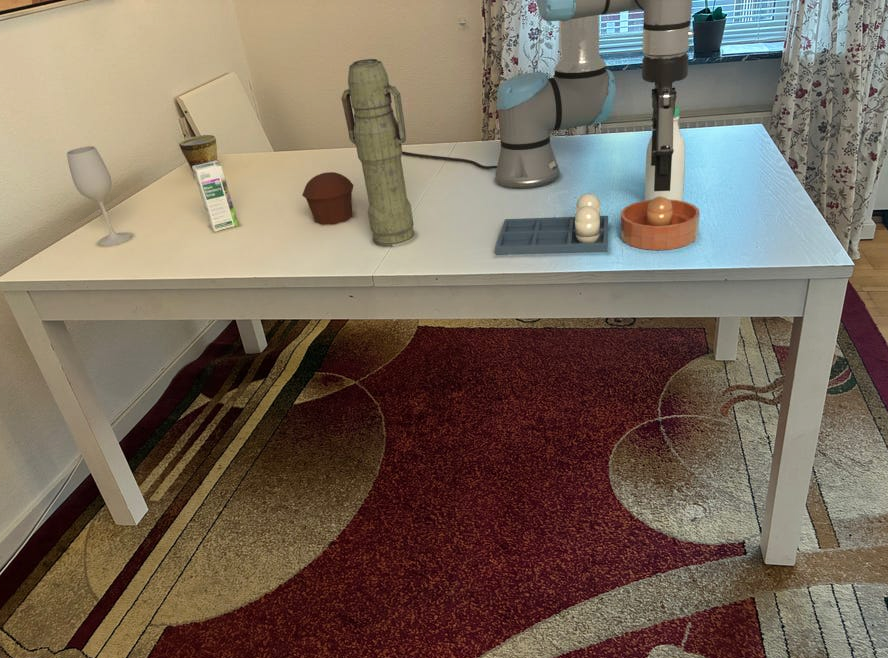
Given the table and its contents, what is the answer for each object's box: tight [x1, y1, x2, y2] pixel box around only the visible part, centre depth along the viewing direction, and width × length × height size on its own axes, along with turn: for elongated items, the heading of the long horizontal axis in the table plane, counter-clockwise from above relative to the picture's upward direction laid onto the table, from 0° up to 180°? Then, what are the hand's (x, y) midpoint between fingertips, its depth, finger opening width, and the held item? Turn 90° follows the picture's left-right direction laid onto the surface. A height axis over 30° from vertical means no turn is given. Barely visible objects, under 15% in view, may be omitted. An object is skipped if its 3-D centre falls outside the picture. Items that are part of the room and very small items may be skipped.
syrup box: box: [192, 159, 239, 232], centre depth 168 cm, size 6×6×14 cm
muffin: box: [301, 171, 354, 226], centre depth 166 cm, size 12×11×10 cm
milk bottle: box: [644, 105, 686, 201], centre depth 149 cm, size 8×8×20 cm
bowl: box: [620, 199, 701, 251], centre depth 139 cm, size 14×14×5 cm
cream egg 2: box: [574, 206, 601, 243], centre depth 138 cm, size 5×5×8 cm
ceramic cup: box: [178, 134, 219, 177], centre depth 208 cm, size 13×10×10 cm
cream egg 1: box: [575, 193, 601, 216], centre depth 143 cm, size 5×5×8 cm
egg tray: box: [495, 215, 609, 256], centre depth 144 cm, size 14×21×2 cm
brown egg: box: [647, 196, 673, 226], centre depth 138 cm, size 5×5×8 cm
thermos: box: [341, 58, 415, 247], centre depth 145 cm, size 9×12×35 cm
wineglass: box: [66, 145, 132, 247], centre depth 166 cm, size 8×8×21 cm
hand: (660, 177), depth 134 cm, fingers open, 13 cm apart
